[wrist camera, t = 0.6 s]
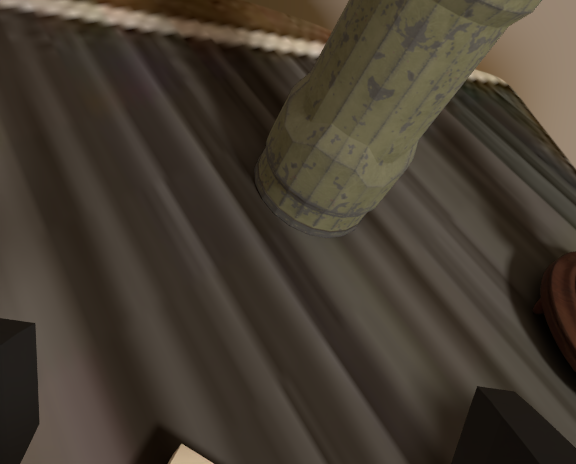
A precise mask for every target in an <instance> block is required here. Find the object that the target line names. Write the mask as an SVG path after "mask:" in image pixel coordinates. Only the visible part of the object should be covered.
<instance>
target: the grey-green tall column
mask: <svg viewBox="0 0 576 464" xmlns="http://www.w3.org/2000/svg"><path fill="white" fill-rule="evenodd" d="M541 1H542V0H349V1H348V3H347V5H346V7H345V9H344V11H343V13H342V15H341V16H340V18H339V21H338V22H337V24H336V26H335V28H334V30H333V31H332V33H331V35H330V37H329V39H328V41H327V43H326V44H325V46H324V48H323V50H322V52H321V54H320V56H319V58H318V59H317V61H316V63H315V65H314V67H313V69H312V71H311V72H310V73H309V74H307V75H306V76H305V77H304V78H303V79H301V80H300V81H299V82H298V83H297V84H295V85H294V86H293V88H292V90H291V92H290V94H289V96H288V98H287V100H286V102H285V103H284V105H283V107H282V109H281V111H280V113H279V115H278V117H277V119H276V121H275V123H274V125H273V127H272V129H271V130H270V133H269V136H268V138H267V141H266V147H265V149H264V151H262V153H261V155H260V157H259V159H258V161H257V164H256V166H255V169H254V173H255V184H256V186H257V189H258V191H259V193H260V195H261V198H262V200H263V201H264V202H265V203H266V204H267V206H268V207H269V208H270V209H271V210H272V212H273V213H274V214H275V215H277V216H278V217H279V218H280V219H282V220H283V221H284V222H286V223H287V224H288V225H290V226H291V227H293V228H296V229H298V230H300V231H302V232H304V233H306V234H309V235H314V236H319V237H324V238H330V237H340V236H344V235H346V234H347V233H349V232H351V231H353V230H354V229H355V228H356V227H357V226H358V224H359V223H360V222H361V220H362V219H363V217H364V216H365V214H366V213H367V212H369V211H371V210H373V209H374V208H375V207H376V206H377V205H378V204H379V202H380V201H381V200H382V199H383V197H384V196H385V195H386V194H387V193H388V191H389V190H390V189H391V188H392V186H393V185H394V184H395V183H396V181H397V180H398V179H399V178H400V177H401V175H402V174H403V173H404V172H405V170H406V169H407V168H408V166H409V165H410V163H411V162H412V160H413V158H414V154H415V151H416V148H417V144H418V141H419V139H420V137H421V136H422V135H423V134H424V132H425V131H426V130H427V129H428V127H429V126H430V125H431V124H432V122H433V121H434V120H435V119H436V117H437V116H438V115H439V114H440V112H441V111H442V110H443V109H444V107H445V106H446V105H447V103H448V102H449V101H450V100H451V98H452V97H453V96H454V95H455V93H456V92H457V91H458V90H459V88H460V87H461V86H462V85H463V83H464V82H465V81H466V80H467V78H468V77H469V76H470V74H471V73H472V72H473V71H474V69H475V68H476V67H477V66H478V64H479V63H480V62H481V61H482V59H483V58H484V57H485V55H486V54H487V53H488V52H489V50H490V49H491V48H492V47H493V45H494V44H495V43H496V42H497V40H498V39H499V38H500V37H501V35H502V34H503V33H504V32H505V30H506V29H507V28H508V27H509V26H510V25H512V24H513V23H515V22H517V21H518V20H520V19H522V18H523V17H525V16H527V15H528V14H530V13H532V12H533V11H534V10H535V8H536V7H537V6H538V5H539V3H540V2H541Z"/></svg>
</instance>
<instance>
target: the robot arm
mask: <svg viewBox="0 0 576 464" xmlns="http://www.w3.org/2000/svg"><path fill="white" fill-rule="evenodd" d="M38 425H39V402H38V378H37V354H36V329H35V323H30V322H23V321H16V320H9V319H2V318H0V464H20V463H21V461H22V459H23V457H24V455H25V453H26V451H27V448H28V446H29V444H30V442H31V440H32V438H33V436H34V434H35V432H36V430H37V427H38ZM451 464H576V448H575V447H574V446H573V445H572V444H571V443H570V442H569V441H568V440H567V439H566V438H565V437H564V436H562V435H561V434H560V433H559V432H558V431H557V430H556V429H555V428H554V427H553V426H552V425H551V424H550V423H549V422H548V421H547V420H546V419H545V418H543V417H542V416H541V415H540V414H539V413H538V412H537V411H536V410H535V409H534V408H533V407H532V406H530V405H529V404H528V403H527V402H526V401H525V400H524V399H522V398H521V397H520V396H519V395H518V394H517V393H515V392H513V391H506V390H499V389H492V388H485V387H478V386H477V389H476V392H475V395H474V397H473V400H472V403H471V406H470V409H469V412H468V415H467V418H466V421H465V424H464V427H463V430H462V433H461V436H460V439H459V442H458V445H457V448H456V451H455V454H454V457H453V460H452V463H451Z"/></svg>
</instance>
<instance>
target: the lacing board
mask: <svg viewBox="0 0 576 464" xmlns="http://www.w3.org/2000/svg"><path fill="white" fill-rule="evenodd" d="M168 464H214V463H212V462H210V461H209V460H207V459H206V458H204V457H202V456H201V455H199V454H197V453H196V452H194V451H193V450H191V449H189V448H188V447H186V446H185V445H183V444H181V445H180V446H179V447H178V449H177V450H176V451H175V452H174V454H173V455H172V457H171V459H170V460H169V462H168Z"/></svg>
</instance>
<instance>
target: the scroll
mask: <svg viewBox="0 0 576 464" xmlns="http://www.w3.org/2000/svg"><path fill="white" fill-rule="evenodd" d="M533 312H534V313H535V314H537V315H539V314H544V315H545V318H546V321H547V324H548V326H549V328H550V331H551V333H552V335H553V337H554V339H555V341H556V343H557V345H558V347H559V348H560V350H561V352H562V353H563V355H564V357H565V358H566V360H567V361H568V363H569V364H570V365H571V367H572V368H573V370H574V371H575V372H576V252H570V253H567V254H565V255H563V256H561V257H560V258H559V259H558V260H556V261H555V262H553V263H552V264H551V265H549V267H548V268H547V269H546V271H545V272H544V274H543V277H542V281H541V298H540V299H539V300H538V301H537V303H536V304H535V306H534V308H533Z"/></svg>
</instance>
